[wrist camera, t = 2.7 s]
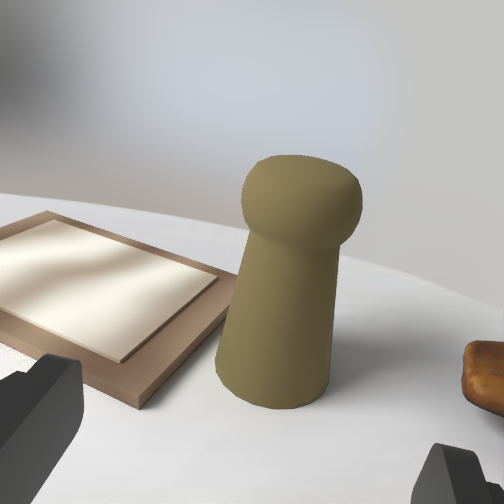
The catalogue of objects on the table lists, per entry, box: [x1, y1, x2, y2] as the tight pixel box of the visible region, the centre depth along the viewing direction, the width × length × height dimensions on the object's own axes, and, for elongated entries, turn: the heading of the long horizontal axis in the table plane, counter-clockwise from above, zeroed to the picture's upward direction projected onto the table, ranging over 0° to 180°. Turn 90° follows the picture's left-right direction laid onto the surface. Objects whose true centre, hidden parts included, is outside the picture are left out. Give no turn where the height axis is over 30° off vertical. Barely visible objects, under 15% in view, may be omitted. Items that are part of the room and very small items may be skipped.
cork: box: [215, 155, 363, 409], centre depth 21 cm, size 6×6×11 cm
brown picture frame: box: [0, 211, 238, 410], centre depth 28 cm, size 18×12×1 cm, turn 65°
